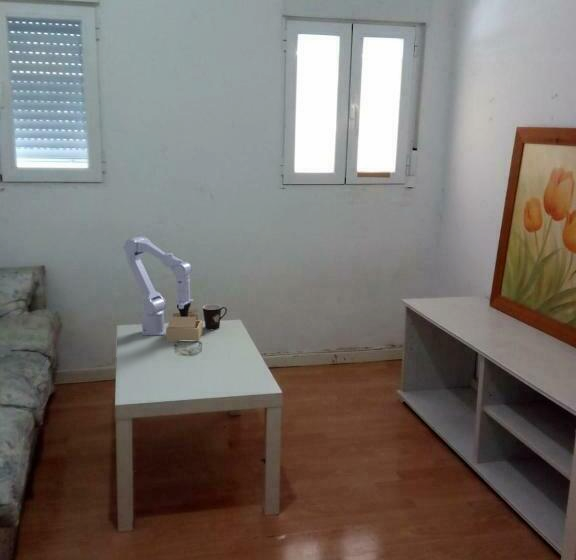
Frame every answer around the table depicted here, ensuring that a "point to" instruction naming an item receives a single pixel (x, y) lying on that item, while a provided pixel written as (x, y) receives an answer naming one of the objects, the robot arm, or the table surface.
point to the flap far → (188, 315)
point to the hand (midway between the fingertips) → (184, 319)
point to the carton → (184, 333)
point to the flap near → (182, 322)
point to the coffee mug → (212, 316)
